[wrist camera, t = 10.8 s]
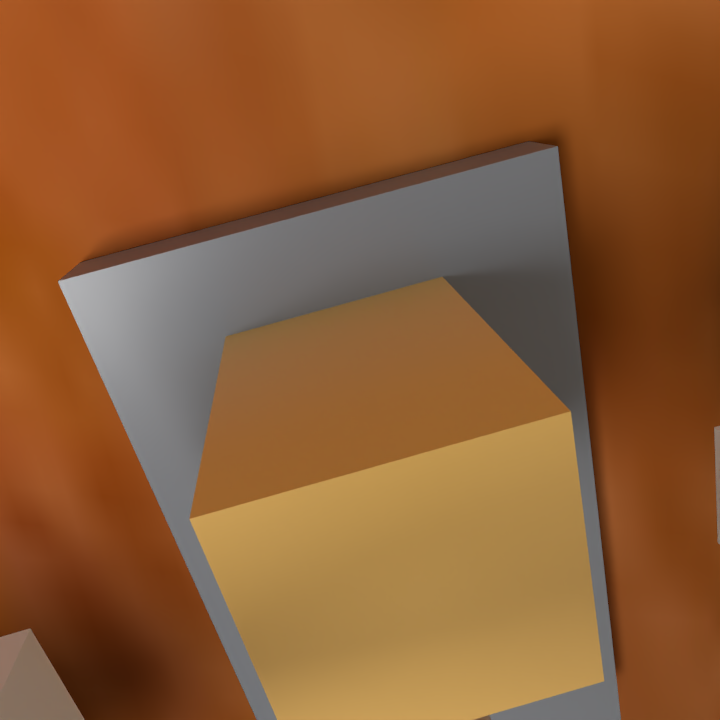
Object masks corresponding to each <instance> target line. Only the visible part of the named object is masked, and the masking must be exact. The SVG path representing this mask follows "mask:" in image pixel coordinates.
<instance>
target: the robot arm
mask: <svg viewBox="0 0 720 720" xmlns="http://www.w3.org/2000/svg"><path fill="white" fill-rule="evenodd" d="M714 435H715V468H716V500H717V533H718V543H719V544H720V426H718V427H714ZM0 720H85V719H84V718H83V716H82V714H81V713H80V711H79V709H78V708H77V706H76V704H75V703H74V701H73V699H72V698H71V696H70V694H69V693H68V691H67V689H66V687H65V686H64V684H63V682H62V681H61V679H60V677H59V676H58V674H57V672H56V671H55V669H54V667H53V666H52V664H51V662H50V661H49V659H48V657H47V656H46V654H45V652H44V650H43V649H42V647H41V645H40V644H39V642H38V640H37V639H36V637H35V635H34V634H33V632H32V630H31V629H26V630H23V631H19V632H16V633H13V634H9V635H6V636H2V637H0Z"/></svg>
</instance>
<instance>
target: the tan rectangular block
mask: <svg viewBox="0 0 720 720" xmlns="http://www.w3.org/2000/svg"><path fill="white" fill-rule="evenodd" d="M189 519H190V522H191V524H192V526H193V529H194V531H195V533H196V535H197V538H198V540H199V542H200V545H201V547H202V549H203V551H204V554H205V556H206V558H207V561H208V563H209V565H210V567H211V570H212V572H213V574H214V577H215V579H216V581H217V583H218V586H219V588H220V590H221V593H222V595H223V597H224V599H225V602H226V604H227V606H228V609H229V611H230V613H231V615H232V618H233V620H234V622H235V625H236V627H237V629H238V631H239V634H240V636H241V638H242V641H243V643H244V645H245V647H246V650H247V652H248V654H249V656H250V659H251V661H252V663H253V666H254V668H255V670H256V672H257V675H258V677H259V679H260V682H261V684H262V686H263V688H264V691H265V693H266V695H267V698H268V700H269V702H270V704H271V707H272V709H273V711H274V714H275V716H276V718H277V720H474V719H477V718H480V717H484V716H487V715H491V714H494V713H498V712H501V711H504V710H508V709H511V708H515V707H518V706H521V705H525V704H528V703H532V702H535V701H539V700H542V699H545V698H549V697H552V696H556V695H559V694H562V693H566V692H569V691H573V690H576V689H580V688H583V687H586V686H590V685H593V684H597V683H600V682H603V681H604V674H603V666H602V658H601V650H600V642H599V634H598V626H597V618H596V610H595V602H594V594H593V586H592V578H591V570H590V562H589V554H588V546H587V537H586V529H585V521H584V513H583V505H582V497H581V489H580V481H579V473H578V465H577V457H576V449H575V441H574V433H573V425H572V417H571V411H570V410H569V409H568V408H567V407H566V406H565V405H564V404H563V403H562V402H561V400H560V399H559V398H558V397H557V396H556V395H555V394H554V393H553V392H552V391H551V390H550V389H549V388H548V387H547V386H546V385H545V384H544V383H543V382H542V381H541V379H540V378H539V377H538V376H537V375H536V374H535V373H534V372H533V371H532V370H531V369H530V368H529V367H528V366H527V365H526V364H525V363H524V362H523V361H522V360H521V359H520V357H519V356H518V355H517V354H516V353H515V352H514V351H513V350H512V349H511V348H510V347H509V346H508V345H507V344H506V343H505V342H504V341H503V340H502V339H501V338H500V337H499V335H498V334H497V333H496V332H495V331H494V330H493V329H492V328H491V327H490V326H489V325H488V324H487V323H486V322H485V321H484V320H483V319H482V318H481V317H480V316H479V314H478V313H477V312H476V311H475V310H474V309H473V308H472V307H471V306H470V305H469V304H468V303H467V302H466V301H465V300H464V299H463V298H462V297H461V296H460V295H459V294H458V292H457V291H456V290H455V289H454V288H453V287H452V286H451V285H450V284H449V283H448V282H447V281H446V280H445V279H444V278H443V277H439V278H435V279H432V280H428V281H425V282H421V283H417V284H414V285H410V286H406V287H403V288H399V289H396V290H392V291H388V292H385V293H381V294H378V295H374V296H370V297H367V298H363V299H359V300H356V301H352V302H349V303H345V304H341V305H338V306H334V307H331V308H327V309H323V310H320V311H316V312H312V313H309V314H305V315H302V316H298V317H294V318H291V319H287V320H283V321H280V322H276V323H273V324H269V325H265V326H262V327H258V328H255V329H251V330H247V331H244V332H240V333H236V334H233V335H229V336H226V337H225V342H224V347H223V352H222V357H221V362H220V367H219V373H218V378H217V383H216V388H215V393H214V398H213V403H212V408H211V413H210V418H209V423H208V428H207V433H206V438H205V443H204V448H203V453H202V458H201V463H200V468H199V473H198V478H197V483H196V488H195V493H194V498H193V503H192V508H191V513H190V518H189Z"/></svg>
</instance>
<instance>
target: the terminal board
mask: <svg viewBox="0 0 720 720" xmlns="http://www.w3.org/2000/svg"><path fill="white" fill-rule="evenodd" d="M439 277H443V278H444V279H445V280H446V281H447V282H448V283H449V284H450V285H451V286H452V287H453V288H454V289H455V290H456V291H457V292H458V294H459V295H460V296H461V297H462V298H463V299H464V300H465V301H466V302H467V303H468V304H469V305H470V306H471V307H472V308H473V309H474V310H475V311H476V312H477V313H478V314H479V316H480V317H481V318H482V319H483V320H484V321H485V322H486V323H487V324H488V325H489V326H490V327H491V328H492V329H493V330H494V331H495V332H496V333H497V334H498V335H499V337H500V338H501V339H502V340H503V341H504V342H505V343H506V344H507V345H508V346H509V347H510V348H511V349H512V350H513V351H514V352H515V353H516V354H517V355H518V356H519V357H520V359H521V360H522V361H523V362H524V363H525V364H526V365H527V366H528V367H529V368H530V369H531V370H532V371H533V372H534V373H535V374H536V375H537V376H538V377H539V378H540V379H541V381H542V382H543V383H544V384H545V385H546V386H547V387H548V388H549V389H550V390H551V391H552V392H553V393H554V394H555V395H556V396H557V397H558V398H559V399H560V400H561V402H562V403H563V404H564V405H565V406H566V407H567V408H568V409H569V410H570V411H571V417H572V425H573V433H574V441H575V449H576V457H577V465H578V473H579V481H580V489H581V497H582V505H583V513H584V521H585V529H586V537H587V546H588V554H589V562H590V570H591V578H592V586H593V594H594V602H595V610H596V618H597V626H598V634H599V642H600V650H601V658H602V666H603V674H604V681H603V682H600V683H597V684H593V685H590V686H586V687H583V688H580V689H576V690H573V691H569V692H566V693H562V694H559V695H556V696H552V697H549V698H545V699H542V700H539V701H535V702H532V703H528V704H525V705H521V706H518V707H515V708H511V709H508V710H504V711H501V712H498V713H494V714H491V715H487V716H484V717H480V718H477V719H474V720H621V716H620V707H619V698H618V689H617V680H616V671H615V662H614V653H613V644H612V635H611V625H610V616H609V607H608V598H607V589H606V580H605V571H604V562H603V553H602V544H601V535H600V526H599V516H598V507H597V498H596V489H595V480H594V471H593V462H592V453H591V444H590V435H589V426H588V417H587V407H586V398H585V389H584V380H583V371H582V362H581V353H580V344H579V335H578V326H577V317H576V308H575V299H574V289H573V280H572V271H571V262H570V253H569V244H568V235H567V226H566V217H565V208H564V199H563V190H562V180H561V171H560V162H559V153H558V146H554V145H548V144H542V143H536V142H530V141H528V142H524V143H520V144H517V145H513V146H509V147H506V148H502V149H498V150H495V151H491V152H487V153H483V154H480V155H476V156H472V157H469V158H465V159H461V160H458V161H454V162H450V163H446V164H443V165H439V166H435V167H432V168H428V169H424V170H421V171H417V172H413V173H409V174H406V175H402V176H398V177H395V178H391V179H387V180H383V181H380V182H376V183H372V184H369V185H365V186H361V187H358V188H354V189H350V190H346V191H343V192H339V193H335V194H332V195H328V196H324V197H321V198H317V199H313V200H309V201H306V202H302V203H298V204H295V205H291V206H287V207H284V208H280V209H276V210H272V211H269V212H265V213H261V214H258V215H254V216H250V217H247V218H243V219H239V220H235V221H232V222H228V223H224V224H221V225H217V226H213V227H209V228H206V229H202V230H198V231H195V232H191V233H187V234H184V235H180V236H176V237H172V238H169V239H165V240H161V241H158V242H154V243H150V244H147V245H143V246H139V247H135V248H132V249H128V250H124V251H121V252H117V253H113V254H110V255H106V256H102V257H98V258H95V259H91V260H87V261H84V262H80V263H79V264H78V265H77V266H75V267H74V268H73V269H72V270H71V271H70V272H68V273H67V274H66V275H65V276H64V277H62V278H61V279H60V280H59V281H58V283H59V285H60V287H61V289H62V291H63V294H64V296H65V298H66V300H67V302H68V305H69V307H70V309H71V311H72V313H73V316H74V318H75V320H76V322H77V324H78V327H79V329H80V331H81V333H82V336H83V338H84V340H85V342H86V344H87V347H88V349H89V351H90V353H91V355H92V358H93V360H94V362H95V364H96V366H97V369H98V371H99V373H100V375H101V377H102V380H103V382H104V384H105V386H106V388H107V391H108V393H109V395H110V397H111V399H112V402H113V404H114V406H115V408H116V410H117V413H118V415H119V417H120V419H121V421H122V424H123V426H124V428H125V430H126V432H127V435H128V437H129V439H130V441H131V444H132V446H133V448H134V450H135V452H136V455H137V457H138V459H139V461H140V463H141V466H142V468H143V470H144V472H145V474H146V477H147V479H148V481H149V483H150V485H151V488H152V490H153V492H154V494H155V496H156V499H157V501H158V503H159V505H160V507H161V510H162V512H163V514H164V516H165V518H166V521H167V523H168V525H169V527H170V529H171V532H172V534H173V536H174V538H175V540H176V543H177V545H178V547H179V549H180V552H181V554H182V556H183V558H184V560H185V563H186V565H187V567H188V569H189V571H190V574H191V576H192V578H193V580H194V582H195V585H196V587H197V589H198V591H199V593H200V596H201V598H202V600H203V602H204V604H205V607H206V609H207V611H208V613H209V615H210V618H211V620H212V622H213V624H214V626H215V629H216V631H217V633H218V635H219V637H220V640H221V642H222V644H223V646H224V649H225V651H226V653H227V655H228V657H229V660H230V662H231V664H232V666H233V668H234V671H235V673H236V675H237V677H238V679H239V682H240V684H241V686H242V688H243V690H244V693H245V695H246V697H247V699H248V701H249V704H250V706H251V708H252V710H253V712H254V715H255V717H256V719H257V720H277V718H276V716H275V714H274V711H273V709H272V707H271V704H270V702H269V700H268V698H267V695H266V693H265V691H264V688H263V686H262V684H261V682H260V679H259V677H258V675H257V672H256V670H255V668H254V666H253V663H252V661H251V659H250V656H249V654H248V652H247V650H246V647H245V645H244V643H243V641H242V638H241V636H240V634H239V631H238V629H237V627H236V625H235V622H234V620H233V618H232V615H231V613H230V611H229V609H228V606H227V604H226V602H225V599H224V597H223V595H222V593H221V590H220V588H219V586H218V583H217V581H216V579H215V577H214V574H213V572H212V570H211V567H210V565H209V563H208V561H207V558H206V556H205V554H204V551H203V549H202V547H201V545H200V542H199V540H198V538H197V535H196V533H195V531H194V529H193V526H192V524H191V522H190V519H189V518H190V513H191V508H192V503H193V498H194V493H195V488H196V483H197V478H198V473H199V468H200V463H201V458H202V453H203V448H204V443H205V438H206V433H207V428H208V423H209V418H210V413H211V408H212V403H213V398H214V393H215V388H216V383H217V378H218V373H219V367H220V362H221V357H222V352H223V347H224V342H225V337H226V336H229V335H233V334H236V333H240V332H244V331H247V330H251V329H255V328H258V327H262V326H265V325H269V324H273V323H276V322H280V321H283V320H287V319H291V318H294V317H298V316H302V315H305V314H309V313H312V312H316V311H320V310H323V309H327V308H331V307H334V306H338V305H341V304H345V303H349V302H352V301H356V300H359V299H363V298H367V297H370V296H374V295H378V294H381V293H385V292H388V291H392V290H396V289H399V288H403V287H406V286H410V285H414V284H417V283H421V282H425V281H428V280H432V279H435V278H439Z"/></svg>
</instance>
